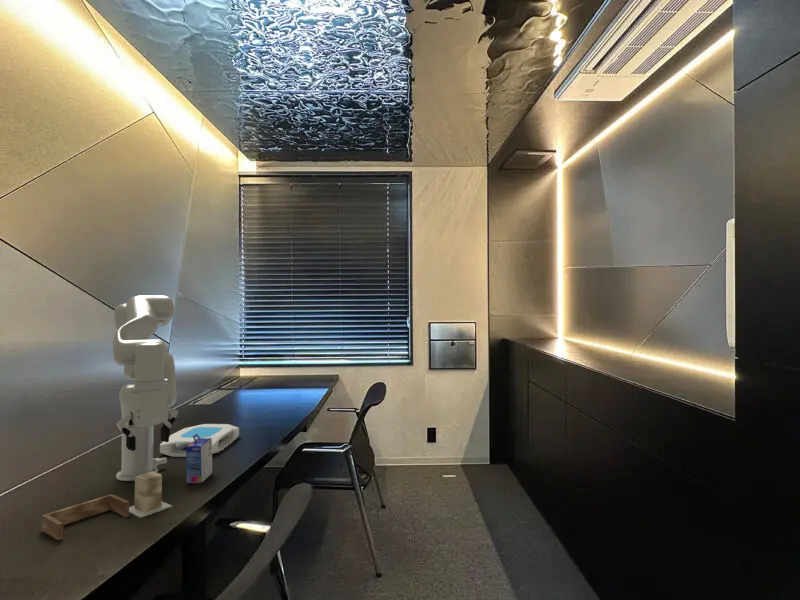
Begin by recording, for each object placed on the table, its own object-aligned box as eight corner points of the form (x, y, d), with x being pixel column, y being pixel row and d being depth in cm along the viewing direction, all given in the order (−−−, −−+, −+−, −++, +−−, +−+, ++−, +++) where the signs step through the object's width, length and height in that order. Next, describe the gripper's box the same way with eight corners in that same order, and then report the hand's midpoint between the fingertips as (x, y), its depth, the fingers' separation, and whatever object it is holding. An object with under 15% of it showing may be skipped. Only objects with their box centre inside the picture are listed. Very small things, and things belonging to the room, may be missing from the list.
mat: (154, 499, 143) (154, 498, 143) (172, 506, 138) (172, 505, 138) (123, 510, 135) (123, 509, 135) (140, 518, 130) (140, 516, 130)
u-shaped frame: (111, 508, 137) (111, 493, 137) (129, 516, 132) (129, 501, 132) (41, 531, 123) (42, 515, 123) (58, 541, 117) (58, 524, 118)
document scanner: (158, 457, 185) (158, 440, 185) (192, 437, 213) (192, 423, 213) (212, 457, 184) (212, 441, 184) (239, 438, 212) (239, 423, 212)
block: (151, 502, 140) (152, 471, 140) (161, 506, 137) (161, 474, 138) (134, 508, 136) (134, 476, 136) (144, 512, 133) (144, 479, 133)
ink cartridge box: (196, 473, 166) (197, 431, 166) (212, 473, 166) (213, 431, 167) (184, 483, 156) (185, 438, 156) (202, 483, 156) (202, 438, 157)
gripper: (170, 380, 147) (169, 436, 147) (110, 388, 132) (110, 450, 132) (185, 383, 142) (184, 440, 143) (125, 392, 128) (124, 456, 128)
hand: (148, 445), depth 137 cm, fingers open, 9 cm apart
